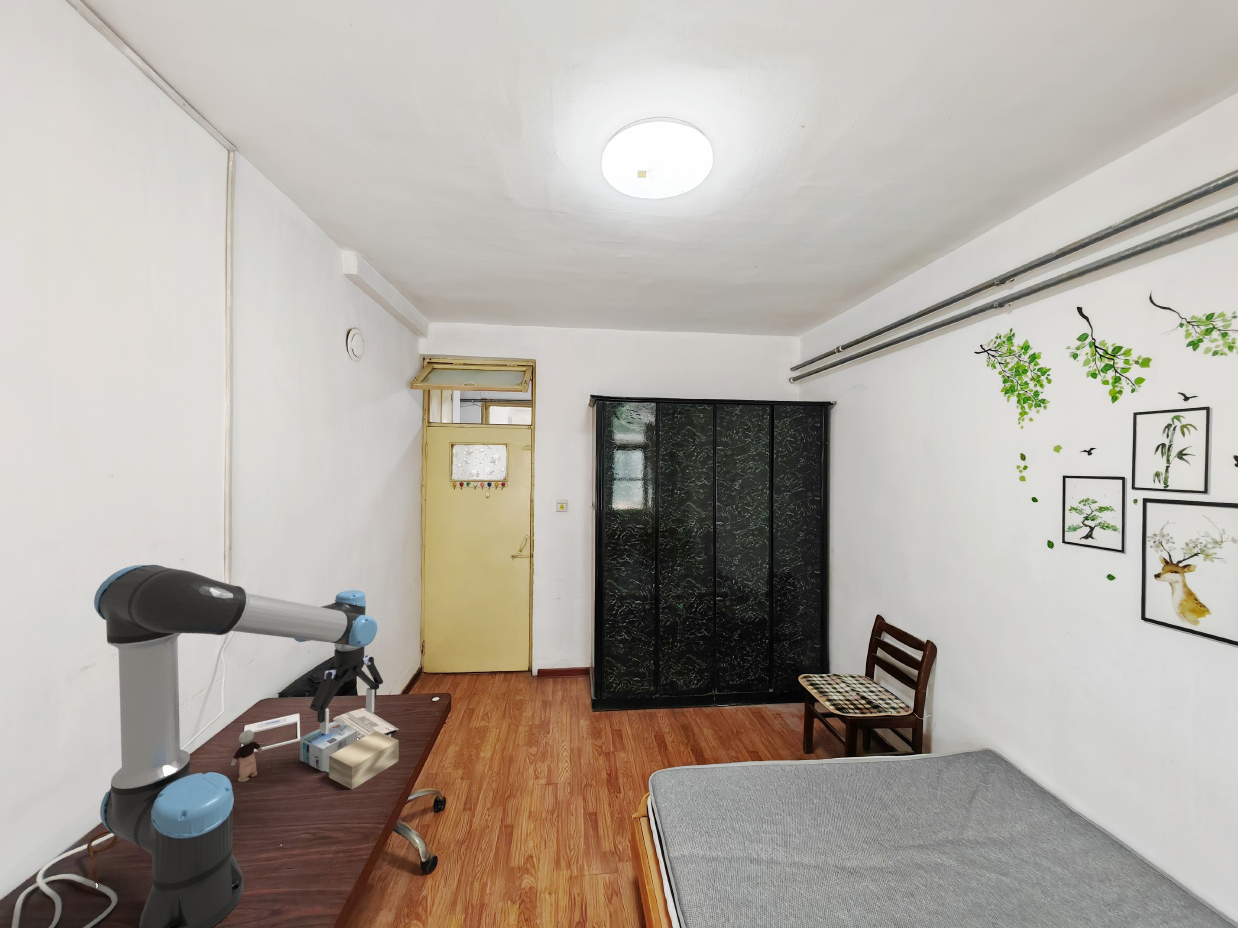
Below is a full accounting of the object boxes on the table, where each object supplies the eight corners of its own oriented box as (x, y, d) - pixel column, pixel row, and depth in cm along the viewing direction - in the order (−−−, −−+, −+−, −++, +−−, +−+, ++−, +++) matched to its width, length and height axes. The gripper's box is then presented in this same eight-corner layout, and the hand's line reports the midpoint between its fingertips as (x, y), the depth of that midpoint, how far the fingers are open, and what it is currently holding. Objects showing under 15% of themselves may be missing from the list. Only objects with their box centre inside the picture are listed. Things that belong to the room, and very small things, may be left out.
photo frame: (299, 712, 167) (300, 738, 152) (299, 715, 167) (300, 741, 152) (244, 724, 159) (239, 753, 144) (244, 728, 159) (239, 757, 144)
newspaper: (326, 726, 161) (327, 718, 161) (364, 714, 171) (365, 707, 171) (361, 751, 148) (361, 742, 148) (400, 737, 157) (400, 728, 158)
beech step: (352, 789, 130) (352, 766, 130) (329, 777, 135) (329, 755, 135) (398, 760, 142) (398, 740, 142) (375, 750, 147) (375, 730, 147)
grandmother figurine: (253, 767, 138) (253, 722, 138) (264, 769, 138) (265, 724, 137) (226, 785, 131) (226, 737, 131) (238, 787, 130) (238, 739, 130)
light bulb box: (322, 748, 136) (298, 737, 141) (322, 772, 136) (298, 760, 141) (358, 729, 146) (334, 719, 151) (358, 752, 146) (334, 741, 151)
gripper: (312, 664, 129) (310, 746, 129) (396, 635, 151) (395, 706, 151) (296, 658, 132) (294, 738, 132) (380, 631, 154) (378, 700, 154)
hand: (348, 721), depth 141 cm, fingers open, 13 cm apart
